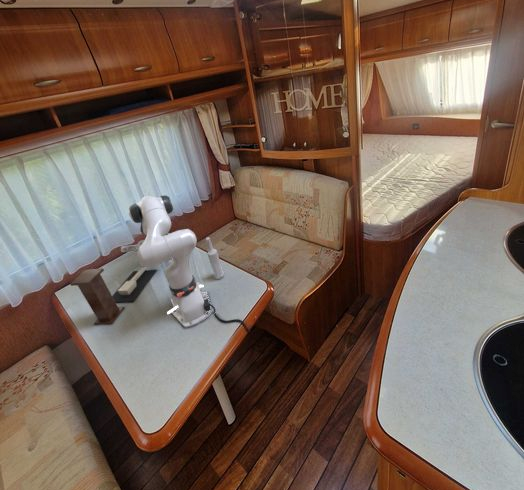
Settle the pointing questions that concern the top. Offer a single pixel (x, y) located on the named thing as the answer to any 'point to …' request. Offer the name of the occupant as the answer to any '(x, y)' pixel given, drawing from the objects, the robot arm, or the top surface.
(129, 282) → the brush
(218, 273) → the bottle
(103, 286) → the stand
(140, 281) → the counter mat
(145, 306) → the top surface
